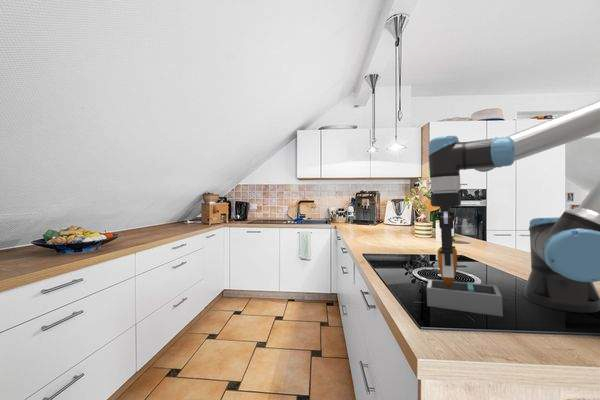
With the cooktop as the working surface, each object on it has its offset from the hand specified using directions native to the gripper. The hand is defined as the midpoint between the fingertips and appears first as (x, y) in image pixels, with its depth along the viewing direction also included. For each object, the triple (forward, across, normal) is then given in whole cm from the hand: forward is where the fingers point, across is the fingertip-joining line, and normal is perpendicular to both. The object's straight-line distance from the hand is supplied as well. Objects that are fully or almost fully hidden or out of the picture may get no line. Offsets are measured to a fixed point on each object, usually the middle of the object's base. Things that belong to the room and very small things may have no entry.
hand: (448, 274), depth 76 cm
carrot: (+4, 0, 0) cm, 4 cm away
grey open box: (+8, 0, +3) cm, 9 cm away
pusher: (+7, 0, +5) cm, 9 cm away
